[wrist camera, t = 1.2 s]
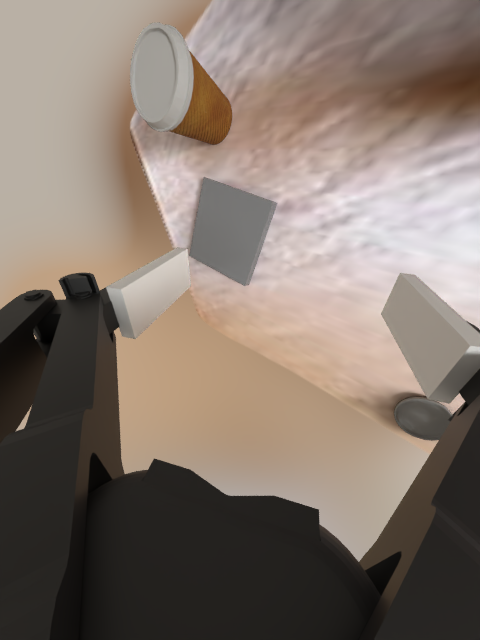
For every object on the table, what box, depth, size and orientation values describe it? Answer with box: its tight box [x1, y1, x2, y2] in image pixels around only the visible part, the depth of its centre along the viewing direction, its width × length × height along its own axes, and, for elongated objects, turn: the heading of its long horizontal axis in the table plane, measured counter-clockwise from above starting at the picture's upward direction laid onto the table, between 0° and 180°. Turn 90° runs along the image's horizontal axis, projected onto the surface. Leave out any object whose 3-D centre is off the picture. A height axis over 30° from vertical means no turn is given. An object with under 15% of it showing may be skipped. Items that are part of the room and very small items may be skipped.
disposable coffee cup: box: [130, 22, 232, 145], centre depth 31 cm, size 10×10×12 cm
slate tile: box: [189, 177, 277, 286], centre depth 39 cm, size 14×14×2 cm
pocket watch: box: [394, 397, 452, 440], centre depth 27 cm, size 8×8×10 cm
